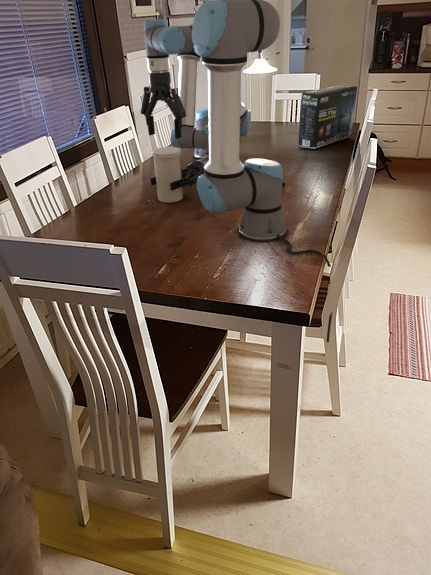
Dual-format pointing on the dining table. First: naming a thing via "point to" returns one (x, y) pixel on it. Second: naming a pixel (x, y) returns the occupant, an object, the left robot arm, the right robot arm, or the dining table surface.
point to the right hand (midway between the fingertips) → (165, 136)
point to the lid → (166, 152)
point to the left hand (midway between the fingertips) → (161, 184)
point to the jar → (168, 178)
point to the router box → (326, 115)
